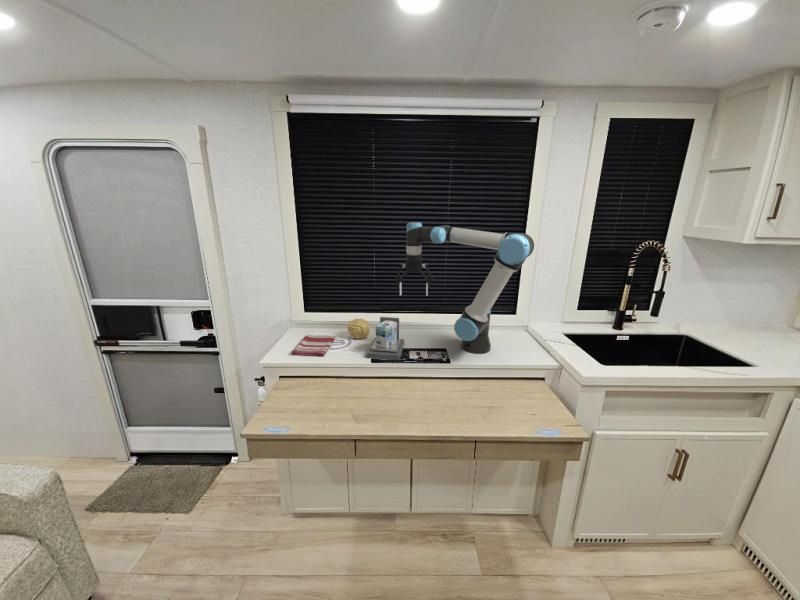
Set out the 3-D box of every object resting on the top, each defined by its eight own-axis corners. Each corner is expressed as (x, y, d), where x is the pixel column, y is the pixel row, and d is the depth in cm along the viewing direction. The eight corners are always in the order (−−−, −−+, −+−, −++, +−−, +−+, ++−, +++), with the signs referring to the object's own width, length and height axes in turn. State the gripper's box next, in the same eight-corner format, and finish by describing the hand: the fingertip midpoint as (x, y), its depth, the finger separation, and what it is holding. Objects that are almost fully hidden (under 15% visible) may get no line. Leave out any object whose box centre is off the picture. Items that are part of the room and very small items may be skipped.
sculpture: (345, 339, 180) (344, 321, 177) (355, 331, 191) (354, 314, 188) (364, 342, 177) (364, 323, 174) (373, 334, 188) (373, 316, 185)
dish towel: (290, 356, 161) (290, 351, 160) (306, 337, 183) (306, 333, 182) (324, 358, 160) (323, 353, 159) (336, 339, 182) (336, 334, 181)
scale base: (404, 343, 176) (404, 318, 172) (399, 360, 157) (399, 332, 153) (375, 341, 178) (375, 316, 174) (366, 357, 159) (366, 330, 155)
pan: (400, 342, 171) (400, 339, 171) (397, 353, 159) (397, 350, 159) (376, 340, 173) (376, 337, 172) (371, 351, 161) (371, 348, 160)
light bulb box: (386, 349, 159) (386, 328, 156) (375, 346, 163) (374, 325, 160) (397, 341, 168) (397, 321, 165) (386, 338, 172) (386, 319, 168)
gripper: (438, 253, 166) (437, 293, 172) (390, 253, 168) (390, 292, 174) (439, 255, 159) (438, 297, 164) (388, 255, 161) (389, 296, 166)
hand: (413, 295), depth 169 cm, fingers open, 13 cm apart
